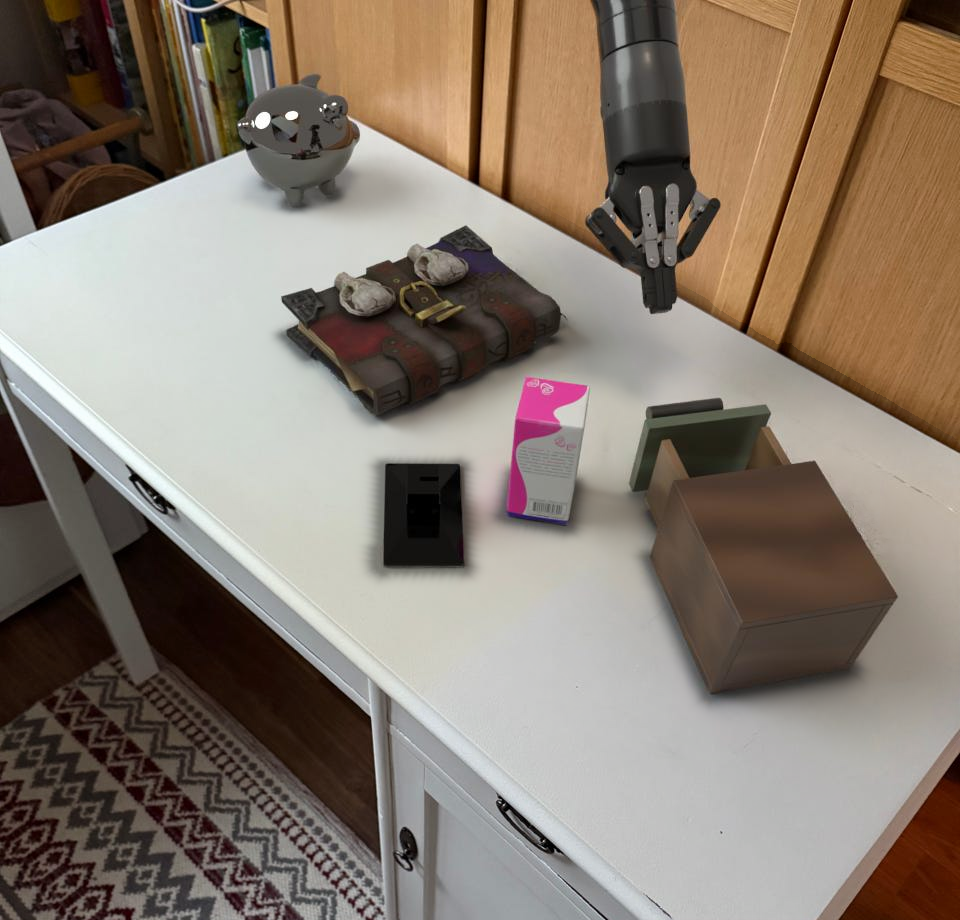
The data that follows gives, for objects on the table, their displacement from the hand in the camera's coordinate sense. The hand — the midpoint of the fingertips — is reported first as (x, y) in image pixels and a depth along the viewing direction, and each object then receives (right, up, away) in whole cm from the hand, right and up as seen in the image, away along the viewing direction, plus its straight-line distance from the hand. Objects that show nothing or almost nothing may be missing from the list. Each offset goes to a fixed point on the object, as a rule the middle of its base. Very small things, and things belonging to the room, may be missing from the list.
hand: (661, 311), depth 88 cm
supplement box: (-11, -18, -1) cm, 21 cm away
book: (-23, +1, +12) cm, 26 cm away
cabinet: (+6, -28, -8) cm, 30 cm away
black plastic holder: (-22, -19, -3) cm, 30 cm away
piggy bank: (-39, +25, +28) cm, 53 cm away
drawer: (+3, -19, -2) cm, 19 cm away
